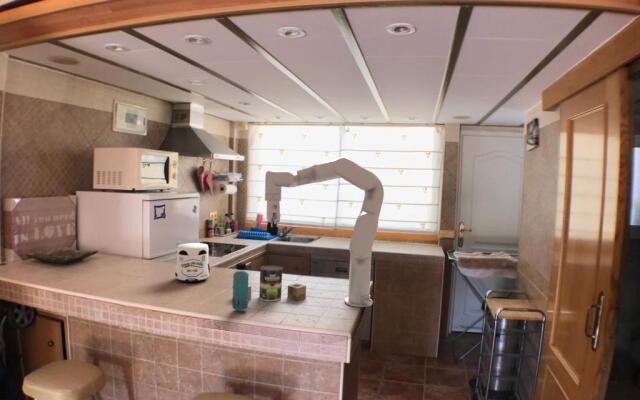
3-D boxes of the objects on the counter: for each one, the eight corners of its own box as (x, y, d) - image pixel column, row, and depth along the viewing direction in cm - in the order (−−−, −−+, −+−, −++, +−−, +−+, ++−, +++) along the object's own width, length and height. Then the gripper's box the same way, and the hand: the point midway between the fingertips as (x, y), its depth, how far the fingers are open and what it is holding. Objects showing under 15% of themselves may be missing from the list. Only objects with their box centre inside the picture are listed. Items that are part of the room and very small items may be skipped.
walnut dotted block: (305, 298, 179) (306, 285, 179) (296, 301, 175) (297, 287, 174) (296, 295, 183) (296, 282, 183) (287, 298, 178) (287, 285, 178)
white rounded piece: (187, 286, 190) (188, 250, 189) (168, 279, 200) (168, 245, 199) (216, 279, 204) (217, 246, 202) (196, 273, 214) (197, 241, 213)
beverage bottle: (249, 308, 163) (250, 261, 161) (246, 314, 156) (248, 265, 155) (233, 308, 162) (234, 261, 161) (230, 313, 156) (231, 265, 154)
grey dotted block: (250, 299, 174) (251, 286, 174) (237, 300, 173) (237, 286, 172) (249, 295, 180) (250, 282, 180) (236, 296, 179) (237, 282, 178)
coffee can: (283, 301, 174) (284, 270, 173) (260, 302, 171) (261, 270, 170) (279, 294, 184) (280, 264, 183) (257, 294, 181) (258, 265, 180)
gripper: (284, 199, 172) (283, 237, 173) (277, 196, 188) (276, 231, 190) (268, 198, 170) (266, 237, 171) (262, 196, 186) (261, 231, 187)
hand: (271, 234), depth 180 cm, fingers open, 9 cm apart
